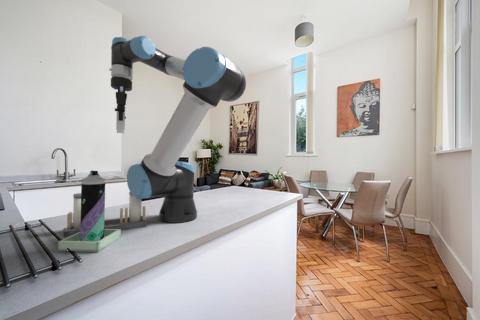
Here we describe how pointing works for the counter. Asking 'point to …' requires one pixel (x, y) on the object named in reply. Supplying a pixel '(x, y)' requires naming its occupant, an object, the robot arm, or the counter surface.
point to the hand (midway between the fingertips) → (120, 131)
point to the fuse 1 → (77, 211)
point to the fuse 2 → (134, 209)
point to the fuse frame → (70, 231)
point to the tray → (87, 246)
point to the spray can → (92, 207)
